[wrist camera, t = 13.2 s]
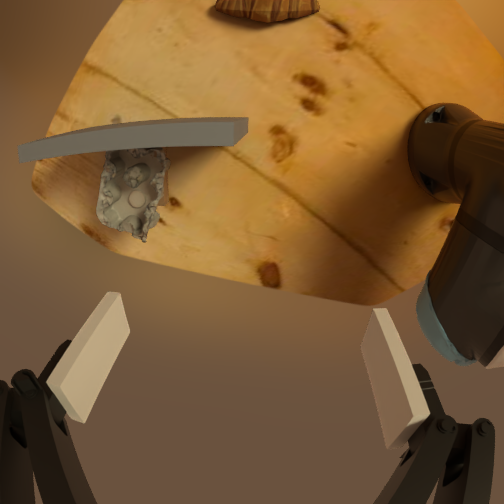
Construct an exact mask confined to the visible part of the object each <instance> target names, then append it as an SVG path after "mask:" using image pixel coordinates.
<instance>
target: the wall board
mask: <svg viewBox="0 0 504 504" xmlns="http://www.w3.org/2000/svg"><path fill="white" fill-rule="evenodd" d="M247 133H248V118H242V117H208V118H179V119H162V120H149V121H138V122H128V123H120V124H112V125H104V126H97V127H90V128H85V129H81V130H76V131H71V132H67V133H63V134H59V135H55V136H51V137H47V138H43V139H39V140H36V141H32V142H29V143H25V144H22V145H19V146H18V154H19V163H23V162H28V161H33V160H40V159H46V158H52V157H59V156H66V155H74V154H82V153H90V152H100V151H110V150H121V149H135V148H144V149H145V150H149V149H151V148H154V147H160V148H163V150H164V153H166V147H175V146H234V145H235V144H236V143H237V142H238V141H239V140H240V139H241V138H242V137H243V136H244V135H245V134H247ZM153 153H154V156H153V157H157V152H156V151H154V152H153ZM151 156H152V154H151ZM165 156H166V157H167V153H166V154H165ZM153 157H152V158H153ZM161 164H163V163H161ZM162 168H163V165H162ZM163 187H164V192H163V194H164V196H163V197H162V198H161V199H160V200H159V202H158V204H157V206H165V205H166V204H167V203H168V202H169V195H168V177H167V170H166V171H165V175H164V182H163Z"/></svg>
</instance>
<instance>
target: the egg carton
mask: <svg viewBox="0 0 504 504" xmlns="http://www.w3.org/2000/svg"><path fill="white" fill-rule="evenodd" d="M154 151H156V152H157V157H153V156H154V153H153V152H154ZM151 154H152V156H151ZM165 154H166V153H164V150H163V148H160V147H154V148H151V149H149V150H145V149H144V148H135V149H121V150H110V151H106V155H105V158H106V160H105V164H104V166H103V167H104V170H103V172H102V174H101V184H100V189H99V197H98V202H97V207H96V214H97V217H98V218H99V220H100V222H101V223H102V224H103V225H106V226H107V227H109V228H110V227H111V228H115V229H117V230H118V231H127V232H130V233H132V236H133V237H135V238H137V239H141V240H142V242H143V243H144V242H147V241H146V239H147V233H148V230H149V229H150V228H153V227H155V226H156V224H157V222H158V221H159V218H160V214H159V213H157V211H156V207H157V204H158V202H159V200H160V199H161V198H162V197H163V196H164V194H163V192H164V187H163V182H164V175H165V171H166V170H168V169H169V167H170V164H171V162H170V160H169V159H168V158H167V157H166V156H165ZM152 157H153V158H152ZM161 163H163V164H161ZM162 165H163V168H162Z"/></svg>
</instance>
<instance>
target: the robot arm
mask: <svg viewBox="0 0 504 504" xmlns="http://www.w3.org/2000/svg"><path fill="white" fill-rule="evenodd" d="M408 160H409V165H410V168H411V171H412V174H413V176H414V178H415V180H416V181H417V183H418V184H419V185H420V187H421V188H422V189H423V190H424V191H425V192H427V193H428V194H430V195H431V196H433V197H434V198H436V199H438V200H440V201H443V202H446V203H456V204H461V205H460V208H459V210H458V213H457V215H456V217H455V219H454V222H453V224H452V227H451V229H450V231H449V233H448V236H447V238H446V240H445V243H444V245H443V247H442V249H441V251H440V253H439V255H438V258H437V260H436V262H435V264H434V266H433V268H432V269H431V270H430V271H429V272H428V274H427V276H426V280H425V284H424V286H423V289H422V290H421V292H420V294H419V296H418V299H417V303H416V311H417V319H418V322H419V325H420V327H421V330H422V332H423V333H424V335H425V337H426V338H427V340H428V341H429V342H430V344H431V345H432V346H433V347H434V348H435V350H436V351H437V352H438V353H440V354H441V355H442V356H443V357H444V358H446V359H447V360H449V361H450V362H452V361H455V363H456V364H457V365H460V366H468V365H471V364H472V363H475V362H476V361H477V360H478V361H479V362H480V363H481V364H482V365H483V366H484V367H485V368H487V369H489V368H495V367H504V124H503V123H498V122H492V121H486V120H483V119H482V118H480V117H479V116H478V115H476V114H475V113H474V112H472V111H471V110H469V109H468V108H466V107H464V106H461V105H458V104H453V103H438V104H434V105H432V106H430V107H428V108H426V109H425V110H424V111H423V112H422V113H421V114H420V115H419V116H418V117H417V119H416V120H415V122H414V124H413V126H412V129H411V131H410V135H409V140H408ZM129 333H130V329H129V325H128V322H127V318H126V315H125V311H124V307H123V303H122V299H121V295H120V293H116V292H107V294H106V295H105V296H104V298H103V299H102V300H101V302H100V303H99V305H98V306H97V307H96V309H95V310H94V311H93V313H92V314H91V315H90V317H89V318H88V320H87V321H86V322H85V324H84V325H83V327H82V328H81V330H80V331H79V332H78V334H77V335H76V337H75V338H74V340H73V341H71V340H66V341H65V342H64V343H63V344H61V345H60V346H59V347H58V349H57V350H56V352H55V355H53V356H52V358H51V360H50V361H49V362H48V364H47V365H46V367H45V368H44V370H43V371H42V373H41V374H40V376H39V377H38V379H37V378H36V376H35V374H34V373H33V372H32V371H31V370H28V369H22V370H20V371H18V372H17V373H15V374H14V376H13V377H12V379H11V384H12V386H13V387H14V388H10V387H9V386H8V384H7V383H6V382H5V381H3V380H0V504H35V496H34V483H33V472H34V475H35V479H36V482H37V486H38V489H39V492H40V495H41V498H42V501H43V504H97V502H96V500H95V498H94V496H93V493H92V491H91V489H90V487H89V484H88V482H87V480H86V477H85V475H84V472H83V470H82V467H81V464H80V462H79V459H78V457H77V453H76V451H75V448H74V445H73V442H72V439H71V435H70V432H69V429H68V426H67V422H66V420H65V418H64V416H65V414H66V412H67V414H68V415H69V416H70V418H71V419H73V420H76V421H79V422H82V423H85V421H86V419H87V417H88V415H89V413H90V411H91V409H92V406H93V404H94V402H95V400H96V398H97V396H98V394H99V392H100V390H101V388H102V386H103V384H104V381H105V380H106V377H107V375H108V374H109V371H110V370H111V367H112V366H113V364H114V362H115V360H116V358H117V356H118V354H119V352H120V350H121V348H122V346H123V344H124V343H125V340H126V339H127V337H128V335H129ZM361 351H362V354H363V357H364V361H365V365H366V368H367V372H368V375H369V379H370V383H371V386H372V390H373V394H374V398H375V401H376V405H377V410H378V414H379V418H380V422H381V426H382V431H383V435H384V439H385V444H386V449H393V448H399V447H402V446H403V445H404V444H405V443H406V442H407V441H408V443H409V448H408V449H407V451H405V452H404V454H403V455H402V456H401V457H400V458H402V460H401V462H400V463H399V465H398V467H397V468H396V470H395V472H394V473H393V475H392V476H391V478H390V480H389V481H388V483H387V484H386V486H385V487H384V489H383V490H382V492H381V493H380V495H379V496H378V498H377V499H376V500H375V502H374V503H373V504H426V502H427V500H428V498H429V497H430V495H431V493H432V491H433V489H434V487H435V485H436V483H437V481H438V478H439V481H438V485H437V489H436V493H435V497H434V502H433V504H489V500H490V494H491V485H492V477H493V466H494V450H495V449H494V448H495V429H494V426H493V424H492V423H491V422H490V421H489V420H488V419H485V418H479V419H477V420H476V421H475V422H474V423H473V424H459V423H456V421H455V420H454V419H453V418H452V417H451V416H448V415H446V414H445V412H444V410H443V408H442V405H441V402H440V400H439V397H438V395H437V393H436V390H435V389H434V385H433V383H432V382H431V378H430V376H429V374H428V371H427V370H426V369H425V368H424V367H423V366H422V365H421V364H412V365H411V362H410V360H409V357H408V355H407V353H406V350H405V348H404V346H403V344H402V341H401V339H400V337H399V334H398V332H397V330H396V328H395V326H394V323H393V321H392V319H391V317H390V315H389V313H388V311H387V309H386V308H373V311H372V314H371V317H370V320H369V323H368V326H367V329H366V332H365V335H364V338H363V341H362V344H361Z"/></svg>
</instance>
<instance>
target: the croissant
mask: <svg viewBox="0 0 504 504" xmlns="http://www.w3.org/2000/svg"><path fill="white" fill-rule="evenodd" d="M215 7H216V10H217V11H220V12H222V13H225V14H228V15H232V16H235V17H238V18H244V17H246V18H249V19H252V20H256V21H262V22H267V23H268V22H274V21H281V20H284V19H287V18H299V17H303V16H307V15H310V14H313V13H316V12H319V9H320V6H319V3H318V1H316V0H217V1H216V5H215Z"/></svg>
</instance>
